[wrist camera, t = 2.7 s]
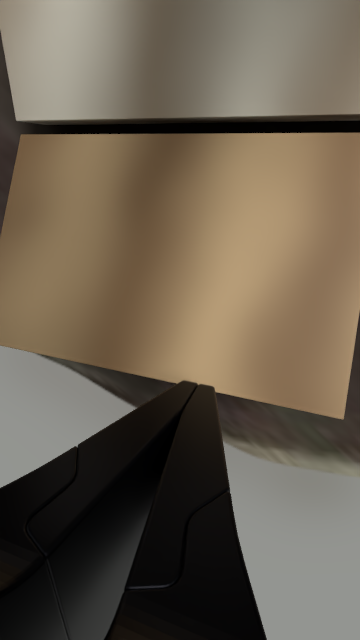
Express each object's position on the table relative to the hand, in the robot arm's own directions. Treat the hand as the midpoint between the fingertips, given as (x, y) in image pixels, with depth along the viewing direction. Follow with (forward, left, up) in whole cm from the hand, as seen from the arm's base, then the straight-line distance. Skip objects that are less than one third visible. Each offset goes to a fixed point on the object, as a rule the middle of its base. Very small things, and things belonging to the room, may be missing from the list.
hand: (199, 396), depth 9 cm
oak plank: (+3, -2, -6) cm, 7 cm away
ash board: (+3, -10, -9) cm, 13 cm away
